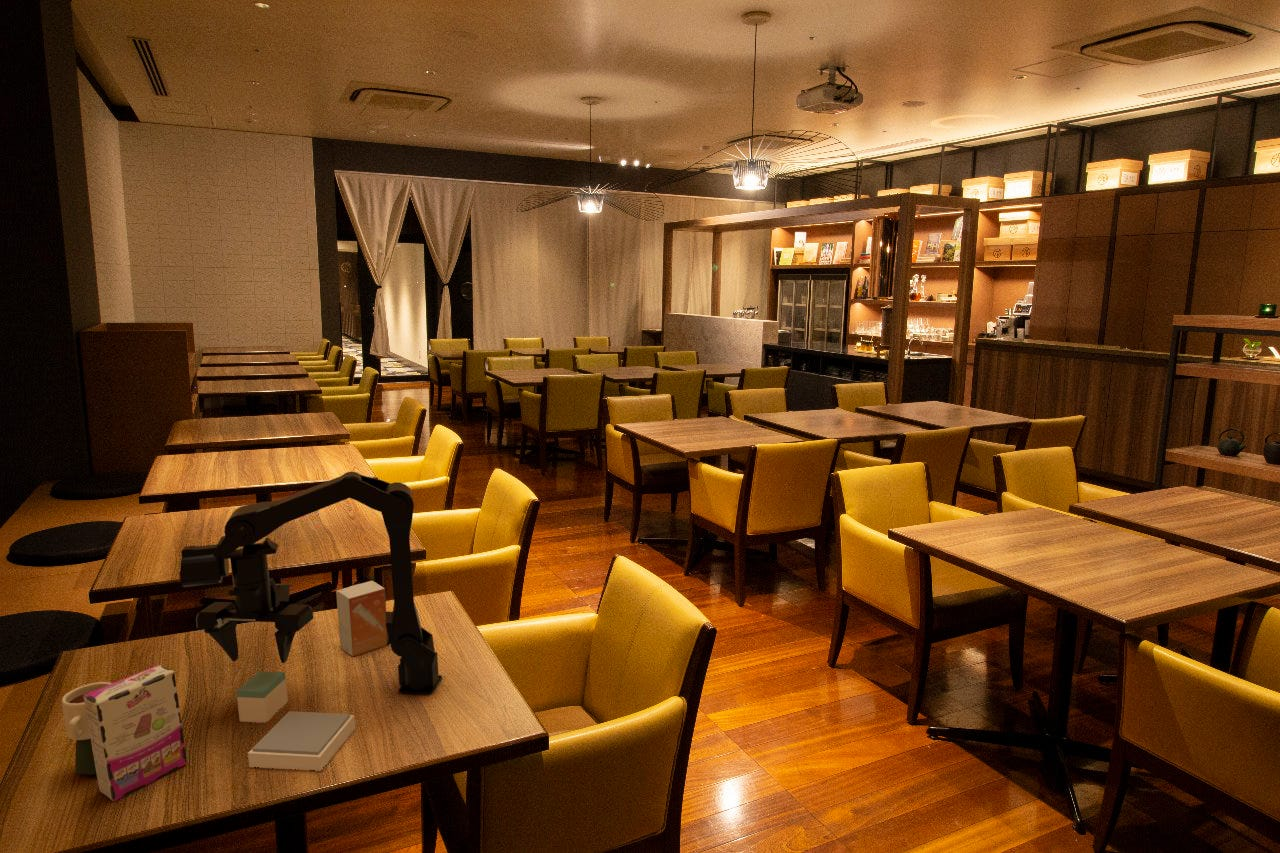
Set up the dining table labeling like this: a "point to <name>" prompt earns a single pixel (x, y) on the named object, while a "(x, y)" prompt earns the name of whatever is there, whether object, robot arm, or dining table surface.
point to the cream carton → (262, 696)
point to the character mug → (80, 726)
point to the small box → (362, 617)
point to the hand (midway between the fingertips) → (259, 661)
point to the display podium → (302, 741)
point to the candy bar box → (135, 731)
